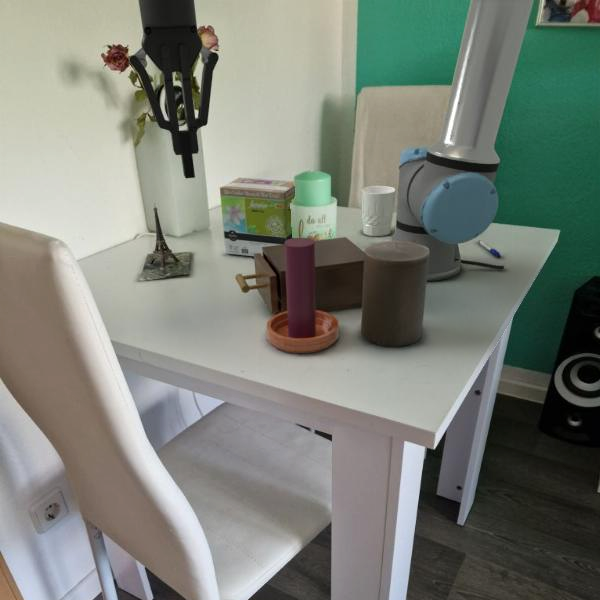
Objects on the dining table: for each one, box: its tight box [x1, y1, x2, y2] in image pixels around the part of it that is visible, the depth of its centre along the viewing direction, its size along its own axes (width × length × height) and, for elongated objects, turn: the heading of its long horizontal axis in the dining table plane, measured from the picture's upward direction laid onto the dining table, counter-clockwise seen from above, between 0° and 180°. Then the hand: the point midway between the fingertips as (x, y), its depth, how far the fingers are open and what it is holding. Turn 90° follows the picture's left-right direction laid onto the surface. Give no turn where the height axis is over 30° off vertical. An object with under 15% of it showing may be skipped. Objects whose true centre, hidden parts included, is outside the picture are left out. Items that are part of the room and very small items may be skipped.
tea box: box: [219, 177, 295, 257], centre depth 122 cm, size 15×10×15 cm, turn 70°
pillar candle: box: [360, 240, 429, 348], centre depth 86 cm, size 10×10×15 cm
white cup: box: [361, 185, 397, 237], centre depth 133 cm, size 8×8×10 cm
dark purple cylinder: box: [284, 237, 316, 338], centre depth 85 cm, size 4×4×15 cm
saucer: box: [265, 310, 340, 354], centre depth 89 cm, size 11×11×2 cm
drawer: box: [234, 253, 281, 314], centre depth 100 cm, size 20×12×7 cm, turn 106°
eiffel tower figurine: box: [138, 202, 192, 282], centre depth 116 cm, size 15×10×13 cm
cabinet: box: [262, 236, 364, 314], centre depth 101 cm, size 16×13×8 cm
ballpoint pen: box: [478, 240, 501, 258], centre depth 122 cm, size 10×1×1 cm, turn 10°
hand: (189, 176), depth 89 cm, fingers closed
